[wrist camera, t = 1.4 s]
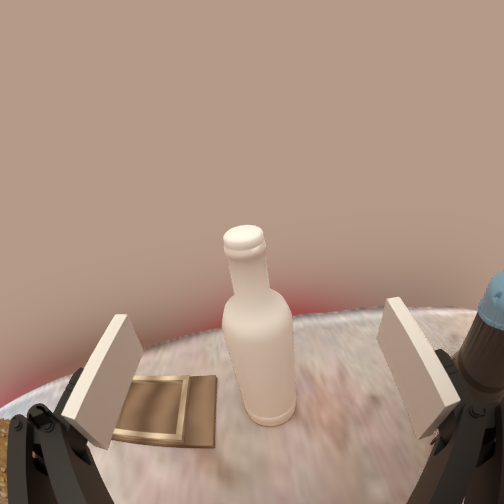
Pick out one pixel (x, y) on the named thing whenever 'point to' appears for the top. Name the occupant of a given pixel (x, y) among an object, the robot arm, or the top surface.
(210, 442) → the serving board
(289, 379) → the bottle
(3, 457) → the bread
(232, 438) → the top surface
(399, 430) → the top surface
